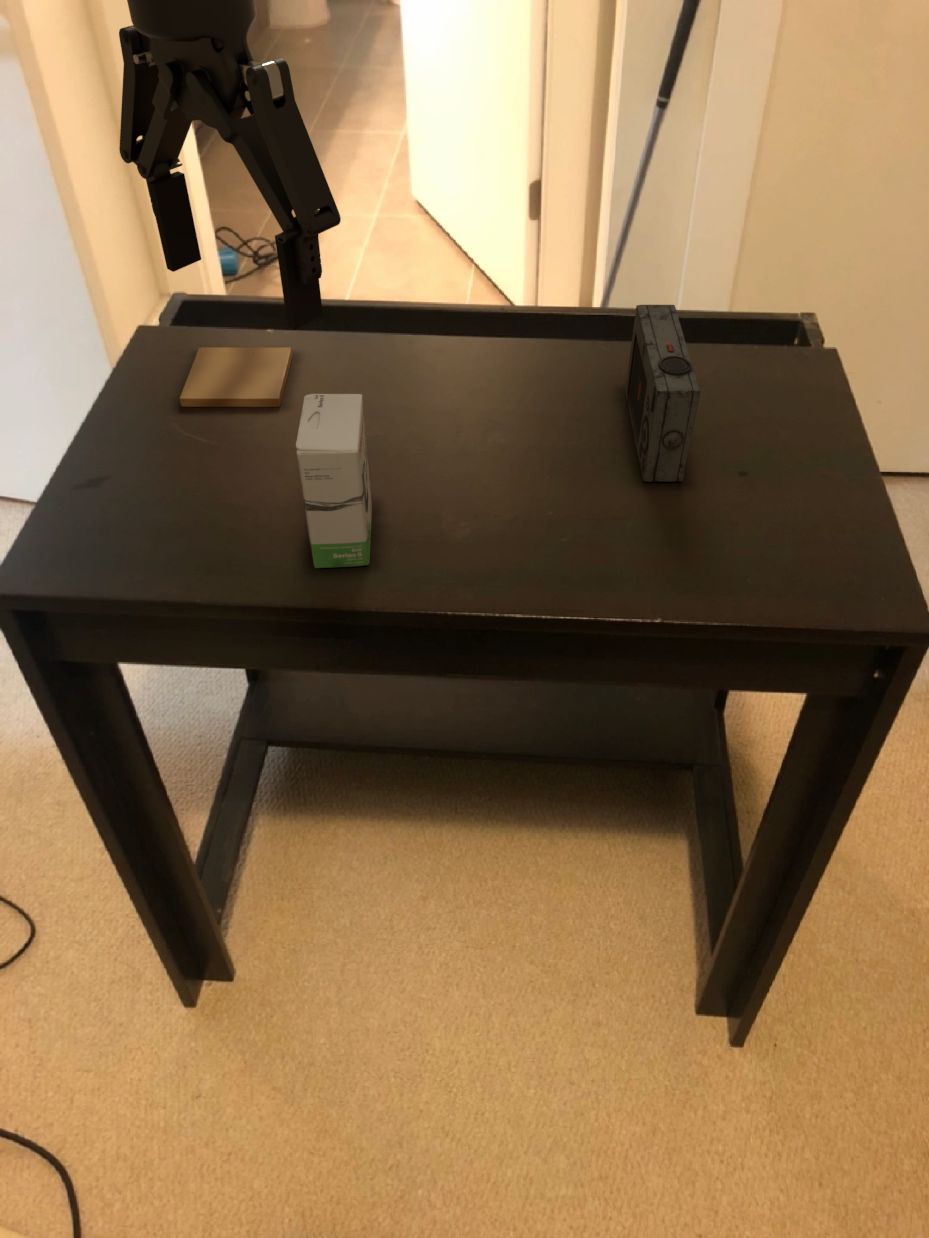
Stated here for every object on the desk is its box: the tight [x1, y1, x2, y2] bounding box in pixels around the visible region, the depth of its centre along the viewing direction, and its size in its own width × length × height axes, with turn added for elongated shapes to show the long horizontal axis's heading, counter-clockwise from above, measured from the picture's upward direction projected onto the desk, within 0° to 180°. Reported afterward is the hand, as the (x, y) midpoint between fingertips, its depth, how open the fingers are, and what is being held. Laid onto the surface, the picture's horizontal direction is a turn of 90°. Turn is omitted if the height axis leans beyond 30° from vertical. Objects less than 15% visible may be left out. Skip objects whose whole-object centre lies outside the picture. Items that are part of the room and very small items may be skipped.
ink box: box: [295, 393, 373, 569], centre depth 81 cm, size 9×5×12 cm, turn 2°
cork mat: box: [179, 346, 293, 408], centre depth 103 cm, size 10×10×1 cm
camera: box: [624, 304, 701, 483], centre depth 92 cm, size 16×4×10 cm, turn 0°
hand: (242, 292), depth 73 cm, fingers open, 13 cm apart
